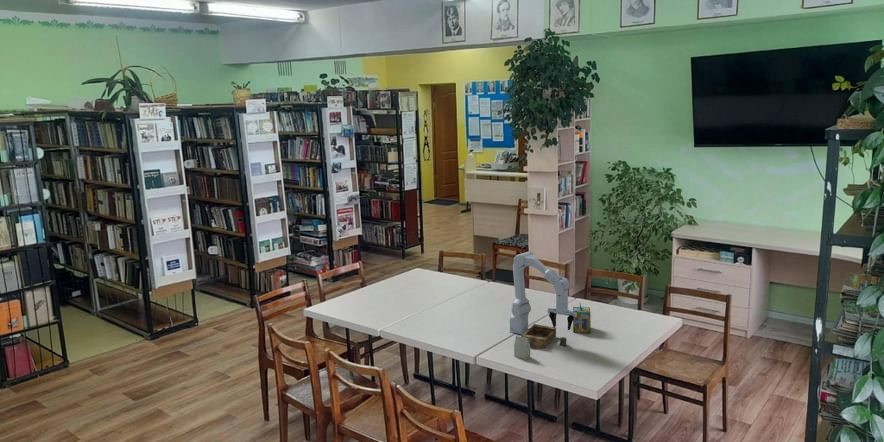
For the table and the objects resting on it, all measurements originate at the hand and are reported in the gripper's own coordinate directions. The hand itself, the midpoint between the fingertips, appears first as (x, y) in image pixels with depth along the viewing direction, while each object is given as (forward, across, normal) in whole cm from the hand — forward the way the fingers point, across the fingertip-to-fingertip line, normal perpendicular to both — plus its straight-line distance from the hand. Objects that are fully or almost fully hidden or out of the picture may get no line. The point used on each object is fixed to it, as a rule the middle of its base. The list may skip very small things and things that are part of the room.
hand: (561, 328), depth 307 cm
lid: (+9, +1, -1) cm, 9 cm away
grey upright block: (+9, -12, -23) cm, 27 cm away
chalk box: (+9, +3, +23) cm, 25 cm away
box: (+8, -12, -1) cm, 15 cm away
